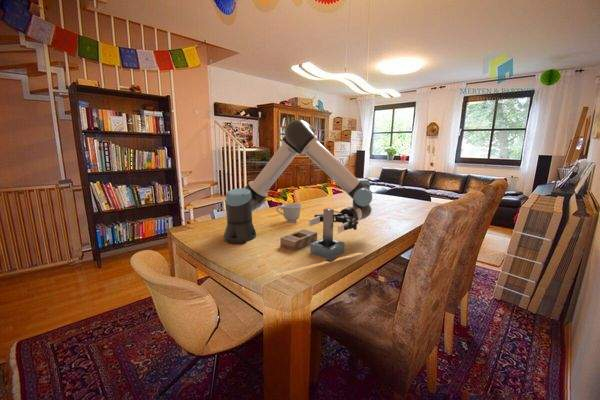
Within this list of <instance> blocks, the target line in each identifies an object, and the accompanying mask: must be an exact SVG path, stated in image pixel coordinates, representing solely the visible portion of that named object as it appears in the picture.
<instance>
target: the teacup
mask: <svg viewBox="0 0 600 400" xmlns="http://www.w3.org/2000/svg"><path fill="white" fill-rule="evenodd" d="M302 207H303V206H302V204H301V203H297V202H287V203H283V204H281V205H277V206H276V212H277V213H278V214H280V215H282V216H283V217H284V219H285V220H286V223H288V224H289V223H290V224H295V223H297V222H298V221H297V220H299V218H300V215H301V209H302ZM279 208H280V210H282V212H281V211H280V210H279Z"/></svg>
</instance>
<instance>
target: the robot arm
mask: <svg viewBox="0 0 600 400" xmlns="http://www.w3.org/2000/svg"><path fill="white" fill-rule="evenodd" d="M281 143H282V144H281V145H279V146H280V147H279V148H278V149H277V150H276V151H275V153H274V154H273V156H272V157H271V158H270V159H269V161H268V162H267V163H266V165H265V166H264V167H263V168H262V169H261V171H260V172H259V173H258V175H257V176H256V178H255V179H254V180H250V181H248V183H247V184H246V186H245V187H243V188H241V187H240V188H238V187H237V188H233V189H230V190H228V191H227V192H226V193H225V208H226V209H225V211H226V227H225V230H224V234H223V240H224V242H226V243H228V244H233V245H241V244H246V243H247V242H248V241H249V242H251V241H252V240H254V239H256V238H257V232H256V228H255V225H254V223H253V211H255V210H257V209H259V208H260V207H261V206H262V205H263V204H264V201H265V199H266V198H267V197H268V195H269V192H268V191H269V190H270V188H271V187H272V186H273V185H274V183H275V182H276V181H277V179H279V177H280V176H281V175H282V174H283V172H284V171H285V170H286V168H288V166H289V165H290V164H291V162H292V161H293V160H294V158H295V157H296V156H301V155H306V156H307V157H308V158H309V159H310V160H311V161H313V163H314V164H316V166H318V168H320V169H321V170H322V171H323V172H324V173H325V174H326V175H327V176H328V177H329V178H330V179H331V180H333V181H334V183H336V184H337V186H339V187H340V188H341V189H342V190H343V191H344V192H345V193H346V194H347V195H348V196H349V197H350V198H351V199H352V206H348V207H346V208H343V209H341V210H340V212H339V213H334V217H333V223H341V224H339V225H337V234H340V233H343V232H346V231H348V230H352V229H353V231H357V226H358V225H359V223H360V221H361V220H364V219H366V218H368V217H369V216H370V215H371V213H372V211H373V210H372V209H373V208H372V207H371V202H372V200H373V193H372V192H371V182H370V181H371V180H369V179H367V178H357V177H356V176H355V174H353V173H352V172H351V171H350V170H349V169H348V168H347V167H346V166H345V165H344V164H343V163H342V162H340V160H339V159H337V158H336V157H335V155H333V153H331V152H330V151H329V149H327V148H326V147H325V146H324V145H323V144H322V143H321V142H320V141H318V136H317V135H316V134H315V130H314V128H313V126H312V125H311V124H310V123H309V122H308V121H306V120H305V121H304V120H303V119H294V120H291V121H290V122H289V123H288V124H286V127H285V130H284V136H283V137H282V139H281ZM320 223H323V213H320V214H318V213H317V214H314V217H313V218H310V219H308V226H309V227H312V226H315V225H318V224H320Z"/></svg>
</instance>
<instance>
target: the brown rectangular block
mask: <svg viewBox="0 0 600 400" xmlns="http://www.w3.org/2000/svg"><path fill="white" fill-rule="evenodd" d="M279 240H280V243H279V244H280V248H283V249H286V250H289V251H292V252H296V251H298V250H301V249H303V248H305V247H307V246H310V244H311V243H313V242H315V241H317V240H318V232H316V231H313V230H310V229H305V228H303V229H300V230H297V231H295V232H292V233H290V234H287V235H284V236H282V237H280V239H279Z"/></svg>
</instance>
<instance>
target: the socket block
mask: <svg viewBox="0 0 600 400" xmlns="http://www.w3.org/2000/svg"><path fill="white" fill-rule="evenodd" d="M345 245H346V244H345V242H343V241H340V240H336V239H333V246H331V247H328V246H324V245H323V237H322V238H319V239H317V241H315V242H313V243H311V244H310V245H309V246H310V250H309V251H310V252H309V253H310V254H312V255H315V256H318V257H322V258H325V259H327V260H325V261H326V262H329V263H332V262H333V261H335V260H337V259H338V258H340V255H341V254H343V253H345V247H346V246H345ZM338 256H339V257H338Z"/></svg>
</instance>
